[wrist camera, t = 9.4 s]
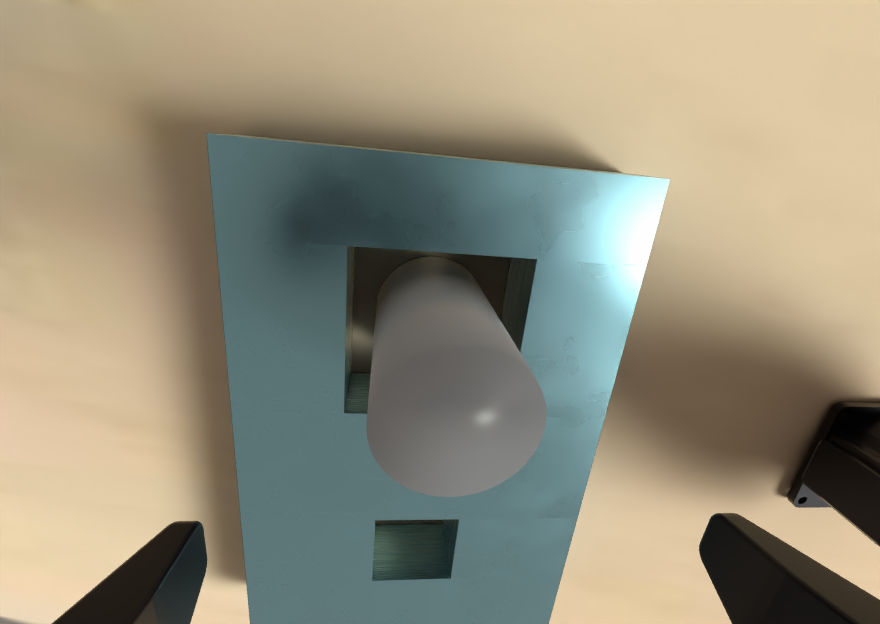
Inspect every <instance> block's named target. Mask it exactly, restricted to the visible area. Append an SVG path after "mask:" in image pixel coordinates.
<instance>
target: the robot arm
mask: <svg viewBox="0 0 880 624" xmlns="http://www.w3.org/2000/svg"><path fill="white" fill-rule="evenodd" d="M788 500H789V501H790V502H791V503H792V504H793V505H794V506H796V507H799V508H800V507H832V508H833V509H834V510H836V511H837V512H838V513H839V514H840V515H842V516H843V517H844V518H845V519H846V520H848V521H849V522H850V523H851V524H852V525H854V526H855V527H856V528H857V529H858V530H860V531H861V532H862V533H863V534H865V535H866V536H867V537H868V538H869V539H871V540H872V541H873V542H874V543H875V544H877V545H879V546H880V403H866V402H839V403H836V404H835V405H833V406H832V407H831V409H830V410H829V412H828V414H827V416H826V419H825V421H824V423H823V425H822V427H821V429H820V431H819V433H818V435H817V437H816V439H815V441H814V443H813V445H812V447H811V449H810V451H809V453H808V455H807V458H806V460H805V462H804V464H803V466H802V468H801V470H800V472H799V474H798V476H797V478H796V480H795V482H794V484H793V486H792V488H791V490H790V492H789V494H788ZM699 552H700V557H701V560H702V562H703V564H704V566H705V568H706V570H707V572H708V574H709V577H710V579H711V581H712V583H713V585H714V587H715V589H716V591H717V593H718V595H719V597H720V600H721V602H722V604H723V606H724V608H725V610H726V612H727V614H728V616H729V618H730V620H731V623H732V624H880V600H879V599H877V598H876V597H874V596H872V595H871V594H869V593H868V592H866V591H864V590H863V589H861V588H859V587H858V586H856V585H854V584H853V583H851V582H849V581H848V580H846V579H844V578H843V577H841V576H839V575H838V574H836V573H835V572H833V571H831V570H830V569H828V568H826V567H825V566H823V565H821V564H820V563H818V562H816V561H815V560H813V559H811V558H810V557H808V556H807V555H805V554H803V553H802V552H800V551H798V550H797V549H795V548H793V547H792V546H790V545H788V544H787V543H785V542H783V541H782V540H780V539H778V538H777V537H775V536H774V535H772V534H770V533H769V532H767V531H765V530H764V529H762V528H760V527H759V526H757V525H755V524H754V523H752V522H750V521H749V520H747V519H745V518H744V517H742V516H740V515H738V514H734V513H717V514H714V515H713V516H712V517H711V518H710V520H709V523H708V525H707V527H706V530H705V532H704V535H703V537H702V539H701V542H700V545H699ZM206 567H207V553H206V545H205V538H204V530H203V526H202V524H201V523H200V522H198V521H178V522H173V523H172V524H170V525H168V526H167V527H166V528H165V529H163V530H162V531H161V532H160V533H159V534H157V535H156V536H155V537H154V538H153V539H152V540H150V541H149V542H148V543H147V544H146V545H144V546H143V547H142V548H141V549H140V550H138V551H137V552H136V553H135V554H134V555H133V556H131V557H130V558H129V559H128V560H127V561H125V562H124V563H123V564H122V565H121V566H119V567H118V568H117V569H116V570H115V571H114V572H112V573H111V574H110V575H109V576H108V577H106V578H105V579H104V580H103V581H102V582H100V583H99V584H98V585H97V586H96V587H95V588H93V589H92V590H91V591H90V592H89V593H87V594H86V595H85V596H84V597H83V598H82V599H80V600H79V601H78V602H77V603H76V604H74V605H73V606H72V607H71V608H70V609H68V610H67V611H66V612H65V613H64V614H63V615H61V616H60V617H59V618H58V619H57V620H55V621H54V622H53V623H52V624H190V622H191V619H192V616H193V612H194V609H195V606H196V603H197V599H198V596H199V593H200V589H201V586H202V583H203V579H204V576H205V572H206Z"/></svg>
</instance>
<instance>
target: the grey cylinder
mask: <svg viewBox="0 0 880 624" xmlns="http://www.w3.org/2000/svg"><path fill="white" fill-rule="evenodd" d="M545 425H546V403H545V398H544V395H543V392H542V389H541V387H540V385H539V383H538V381H537V380H536V378H535V376H534V375H533V373H532V371H531V370H530V368H529V366H528V365H527V363H526V362H525V360H524V358H523V357H522V355H521V353H520V352H519V350H518V348H517V347H516V345H515V344H514V342H513V340H512V339H511V337H510V335H509V334H508V332H507V330H506V329H505V327H504V326H503V324H502V322H501V321H500V319H499V317H498V316H497V314H496V312H495V311H494V309H493V308H492V306H491V304H490V303H489V301H488V299H487V298H486V296H485V294H484V293H483V291H482V290H481V288H480V286H479V285H478V283H477V281H476V280H475V278H474V277H473V276H472V274H471V273H470V272H469V271H468V270H467V269H465V268H464V267H463V266H462V265H460V264H458V263H456V262H454V261H452V260H449V259H446V258H442V257H421V258H417V259H413V260H411V261H408V262H406V263H404V264H402V265H401V266H399V267H398V268H397V269H395V270H394V271H393V272H392V273H391V274H390V275H389V276H388V277H387V279H386V280H385V282H384V283H383V285H382V287H381V289H380V292H379V295H378V299H377V307H376V318H375V330H374V342H373V353H372V365H371V376H370V388H369V399H368V411H367V423H366V430H367V439H368V444H369V447H370V450H371V452H372V455H373V456H374V458H375V460H376V462H377V463H378V465H379V466H380V467H381V468H382V470H383V471H384V472H385V473H386V474H387V475H388V476H389V477H391V478H392V479H393V480H395V481H396V482H397V483H399V484H401V485H403V486H404V487H406V488H408V489H411V490H413V491H416V492H419V493H423V494H426V495H432V496H439V497H457V496H465V495H471V494H475V493H479V492H482V491H485V490H487V489H490V488H492V487H494V486H496V485H499V484H501V483H502V482H504V481H505V480H507V479H509V478H510V477H512V476H513V475H514V474H515V473H517V472H518V471H519V470H520V469H521V468H522V467H523V466H524V465H525V464H526V463H527V462H528V461H529V459H530V458H531V457H532V456H533V454H534V452H535V451H536V449H537V448H538V446H539V443H540V441H541V439H542V436H543V433H544V430H545Z"/></svg>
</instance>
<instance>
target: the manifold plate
mask: <svg viewBox="0 0 880 624" xmlns="http://www.w3.org/2000/svg"><path fill="white" fill-rule="evenodd" d="M207 144H208V155H209V167H210V178H211V189H212V200H213V212H214V223H215V234H216V245H217V257H218V268H219V279H220V290H221V302H222V313H223V324H224V335H225V347H226V358H227V369H228V380H229V392H230V403H231V414H232V426H233V437H234V448H235V459H236V471H237V482H238V493H239V504H240V516H241V527H242V538H243V549H244V561H245V572H246V583H247V594H248V606H249V617H250V624H549V621H550V617H551V613H552V610H553V606H554V602H555V599H556V595H557V591H558V588H559V584H560V580H561V577H562V573H563V569H564V566H565V562H566V558H567V555H568V551H569V547H570V544H571V540H572V536H573V533H574V529H575V525H576V522H577V518H578V514H579V511H580V507H581V503H582V500H583V496H584V492H585V489H586V485H587V481H588V478H589V474H590V470H591V467H592V463H593V459H594V456H595V452H596V448H597V445H598V441H599V437H600V434H601V430H602V426H603V423H604V419H605V415H606V412H607V408H608V404H609V401H610V397H611V393H612V390H613V386H614V382H615V379H616V375H617V371H618V368H619V364H620V360H621V357H622V353H623V349H624V346H625V342H626V338H627V335H628V331H629V327H630V324H631V320H632V316H633V313H634V309H635V305H636V302H637V298H638V294H639V291H640V287H641V283H642V280H643V276H644V272H645V269H646V265H647V261H648V258H649V254H650V250H651V247H652V243H653V239H654V236H655V232H656V228H657V225H658V221H659V217H660V214H661V210H662V206H663V203H664V199H665V195H666V192H667V188H668V184H669V181H670V179H664V178H657V177H649V176H642V175H635V174H627V173H619V172H609V171H599V170H589V169H579V168H569V167H559V166H549V165H539V164H529V163H519V162H509V161H499V160H489V159H479V158H469V157H459V156H449V155H439V154H429V153H418V152H408V151H398V150H388V149H378V148H368V147H358V146H348V145H338V144H328V143H318V142H308V141H298V140H288V139H278V138H268V137H258V136H248V135H235V134H212V133H207ZM354 246H356V247H370V248H384V249H399V250H413V251H427V252H441V253H456V254H470V255H484V256H499V257H511V260H510V266H509V273H508V279H507V285H506V292H505V298H504V304H503V311H502V317H501V322H502V324H503V326H504V327H505V329H506V330H507V332H508V334H509V335H510V337H511V339H512V340H513V342H514V344H515V345H516V347H517V348H518V350H519V352H520V353H521V355H522V357H523V358H524V360H525V362H526V363H527V365H528V366H529V368H530V370H531V371H532V373H533V375H534V376H535V378H536V380H537V381H538V383H539V385H540V387H541V389H542V392H543V395H544V398H545V403H546V425H545V430H544V433H543V436H542V439H541V441H540V443H539V446H538V448H537V449H536V451H535V452H534V454H533V456H532V457H531V458H530V459H529V461H528V462H527V463H526V464H525V465H524V466H523V467H522V468H521V469H520V470H519V471H518V472H517V473H515V474H514V475H513V476H512V477H510V478H509V479H507V480H505V481H504V482H502V483H501V484H499V485H496V486H494V487H492V488H490V489H487V490H485V491H482V492H479V493H475V494H471V495H465V496H457V497H439V496H432V495H426V494H423V493H419V492H416V491H413V490H411V489H408V488H406V487H404V486H403V485H401V484H399V483H397V482H396V481H395V480H393V479H392V478H391V477H389V476H388V475H387V474H386V473H385V472H384V471H383V470H382V468H381V467H380V466H379V465H378V463H377V462H376V460H375V458H374V456H373V455H372V452H371V450H370V447H369V444H368V439H367V430H366V423H367V411H368V399H369V388H370V376H371V373H351V354H352V315H353V276H354ZM375 520H444V522H443V524H410V525H375Z"/></svg>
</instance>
